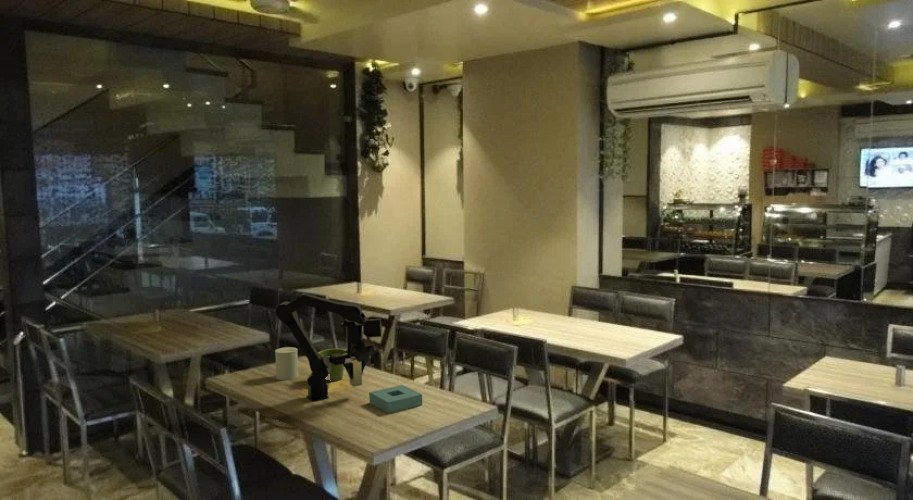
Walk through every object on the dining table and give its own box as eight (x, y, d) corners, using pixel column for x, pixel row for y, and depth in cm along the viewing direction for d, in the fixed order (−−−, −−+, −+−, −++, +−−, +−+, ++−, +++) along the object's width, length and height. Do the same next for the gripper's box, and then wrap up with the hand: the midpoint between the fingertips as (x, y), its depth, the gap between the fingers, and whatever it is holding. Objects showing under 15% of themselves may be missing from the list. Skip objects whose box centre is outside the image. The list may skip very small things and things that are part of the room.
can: (295, 380, 267) (294, 351, 266) (273, 380, 268) (271, 351, 266) (301, 373, 277) (300, 345, 275) (279, 373, 277) (278, 346, 275)
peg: (353, 386, 242) (353, 363, 241) (349, 384, 245) (349, 361, 244) (362, 385, 244) (361, 361, 243) (357, 382, 247) (357, 359, 246)
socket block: (388, 413, 227) (388, 402, 227) (369, 402, 239) (369, 392, 238) (422, 405, 235) (422, 394, 235) (402, 395, 247) (402, 384, 246)
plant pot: (314, 378, 269) (313, 351, 268) (339, 373, 276) (339, 347, 275) (326, 385, 260) (326, 357, 259) (353, 379, 267) (352, 352, 266)
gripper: (341, 345, 231) (342, 388, 233) (386, 337, 242) (388, 378, 243) (327, 339, 240) (329, 380, 242) (372, 332, 251) (373, 371, 252)
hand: (355, 378), depth 244 cm, fingers closed on peg, 3 cm apart
